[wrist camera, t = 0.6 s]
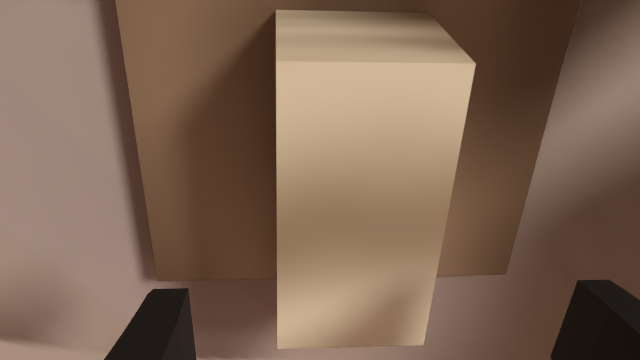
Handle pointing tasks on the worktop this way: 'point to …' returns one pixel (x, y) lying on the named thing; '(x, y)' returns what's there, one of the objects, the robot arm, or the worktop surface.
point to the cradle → (260, 125)
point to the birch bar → (363, 172)
